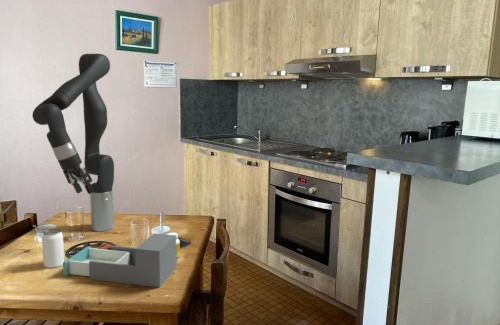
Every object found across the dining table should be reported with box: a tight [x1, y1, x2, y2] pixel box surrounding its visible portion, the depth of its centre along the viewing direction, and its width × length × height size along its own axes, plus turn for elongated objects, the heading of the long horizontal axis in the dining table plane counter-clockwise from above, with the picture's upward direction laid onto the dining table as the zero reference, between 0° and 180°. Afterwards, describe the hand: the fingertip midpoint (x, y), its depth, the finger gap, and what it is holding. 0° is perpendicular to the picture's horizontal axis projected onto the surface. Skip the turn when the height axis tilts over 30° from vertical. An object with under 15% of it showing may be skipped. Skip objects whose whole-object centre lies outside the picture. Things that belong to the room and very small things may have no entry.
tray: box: [62, 245, 131, 277], centre depth 133 cm, size 14×17×4 cm
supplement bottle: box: [166, 232, 181, 262], centre depth 143 cm, size 5×5×10 cm
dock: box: [89, 233, 177, 288], centre depth 130 cm, size 14×24×12 cm, turn 80°
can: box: [41, 228, 65, 269], centre depth 135 cm, size 6×6×12 cm
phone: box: [177, 236, 192, 250], centre depth 160 cm, size 8×1×15 cm
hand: (85, 192), depth 153 cm, fingers open, 8 cm apart
